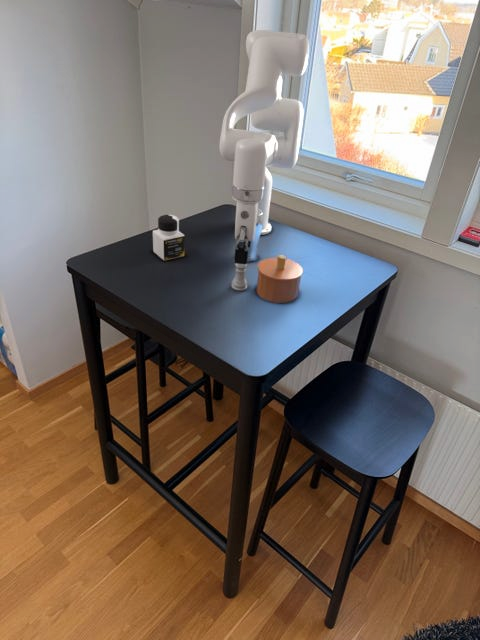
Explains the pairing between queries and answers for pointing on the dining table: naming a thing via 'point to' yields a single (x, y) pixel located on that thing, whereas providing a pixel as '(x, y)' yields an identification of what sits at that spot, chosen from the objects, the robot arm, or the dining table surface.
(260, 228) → the metal shaker cup
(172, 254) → the medicine bottle
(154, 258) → the dining table surface
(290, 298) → the pot
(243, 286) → the rook chess piece
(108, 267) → the dining table surface
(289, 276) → the pot lid
